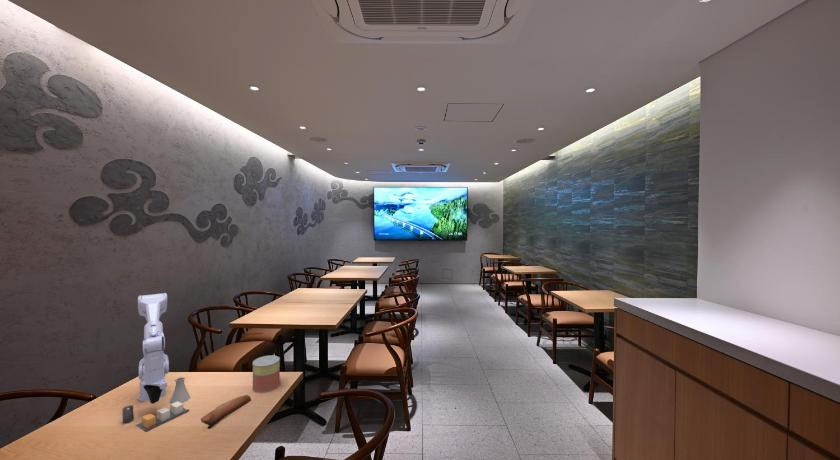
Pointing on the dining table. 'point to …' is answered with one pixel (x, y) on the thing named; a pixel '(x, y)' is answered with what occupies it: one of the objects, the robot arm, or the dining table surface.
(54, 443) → the dining table surface
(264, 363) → the canned food
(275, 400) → the dining table surface
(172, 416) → the panel
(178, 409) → the toggle near
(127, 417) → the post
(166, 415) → the toggle mid
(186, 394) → the flask
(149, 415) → the toggle orange
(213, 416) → the brown tapered rod
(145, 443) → the dining table surface
